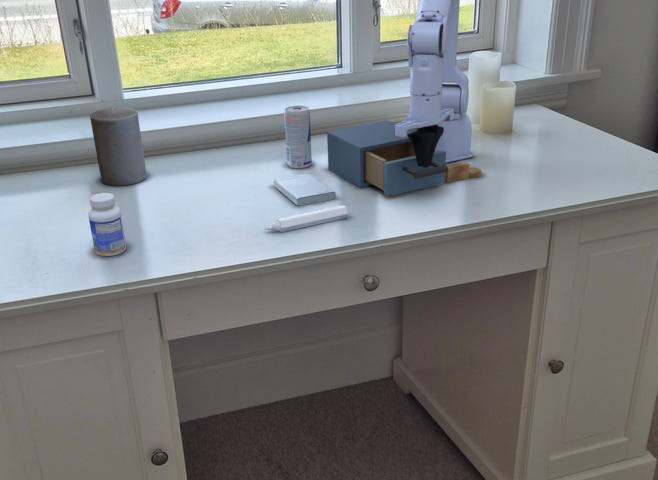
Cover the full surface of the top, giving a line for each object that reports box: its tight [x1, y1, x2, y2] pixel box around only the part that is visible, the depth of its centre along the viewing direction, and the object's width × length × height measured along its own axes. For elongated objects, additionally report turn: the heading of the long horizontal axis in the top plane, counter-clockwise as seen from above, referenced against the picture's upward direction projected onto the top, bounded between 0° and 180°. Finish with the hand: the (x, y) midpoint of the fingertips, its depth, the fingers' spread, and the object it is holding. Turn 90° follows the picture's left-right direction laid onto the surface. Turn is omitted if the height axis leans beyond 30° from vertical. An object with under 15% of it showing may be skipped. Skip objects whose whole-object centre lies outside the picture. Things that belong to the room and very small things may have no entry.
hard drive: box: [273, 173, 337, 206], centre depth 163 cm, size 2×8×12 cm
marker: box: [264, 204, 349, 233], centre depth 149 cm, size 3×2×16 cm
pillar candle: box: [89, 106, 148, 187], centre depth 171 cm, size 10×10×15 cm
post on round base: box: [445, 160, 482, 183], centre depth 167 cm, size 9×3×3 cm, turn 118°
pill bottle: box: [87, 192, 127, 257], centre depth 140 cm, size 5×5×10 cm
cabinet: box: [326, 120, 411, 189], centre depth 171 cm, size 14×15×8 cm
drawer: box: [364, 142, 448, 197], centre depth 162 cm, size 18×13×6 cm
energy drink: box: [283, 105, 313, 169], centre depth 176 cm, size 5×5×12 cm
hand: (423, 165), depth 156 cm, fingers closed
